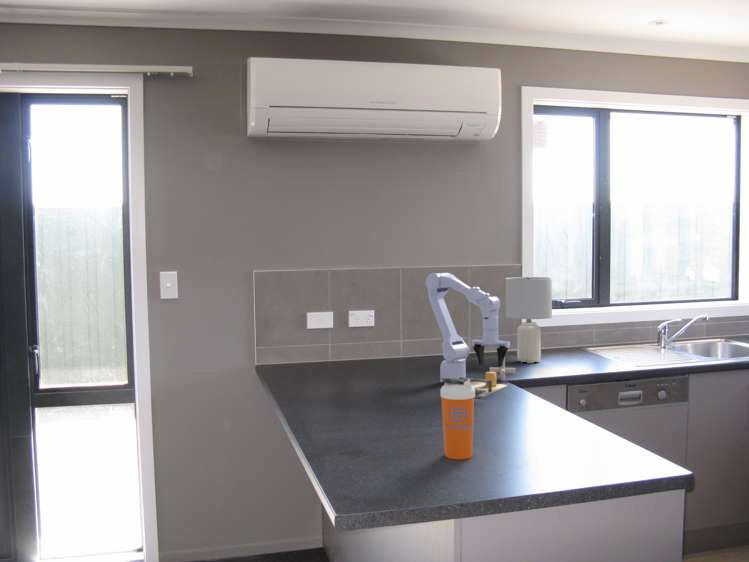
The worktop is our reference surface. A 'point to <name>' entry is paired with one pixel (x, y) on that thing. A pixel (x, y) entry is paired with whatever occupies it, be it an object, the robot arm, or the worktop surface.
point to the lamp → (529, 312)
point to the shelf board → (481, 385)
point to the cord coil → (491, 378)
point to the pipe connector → (503, 370)
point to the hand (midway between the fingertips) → (490, 365)
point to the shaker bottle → (458, 417)
